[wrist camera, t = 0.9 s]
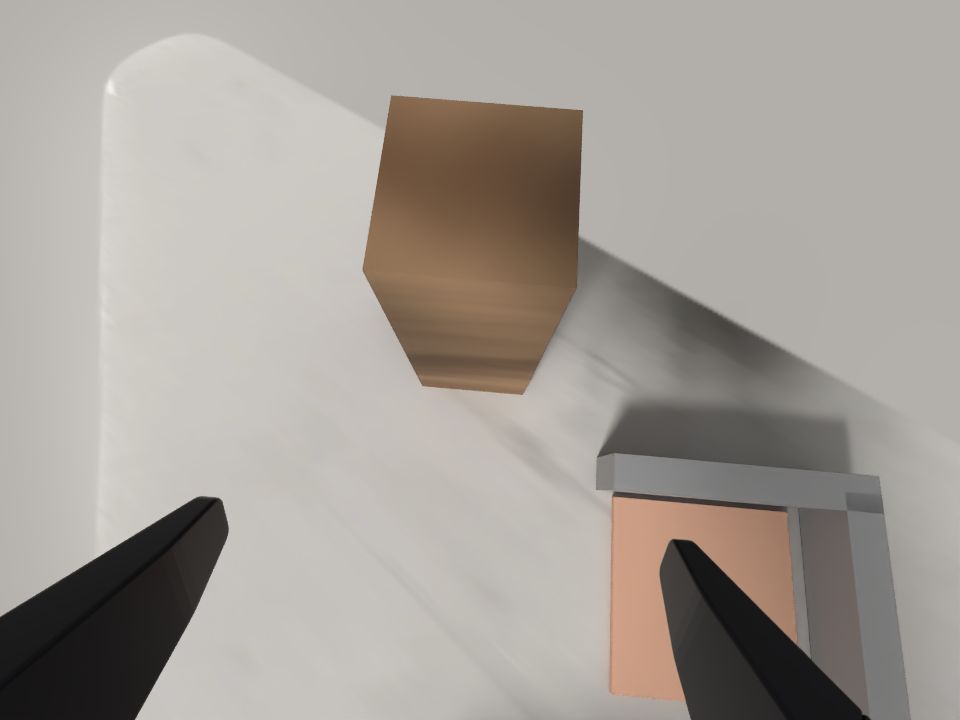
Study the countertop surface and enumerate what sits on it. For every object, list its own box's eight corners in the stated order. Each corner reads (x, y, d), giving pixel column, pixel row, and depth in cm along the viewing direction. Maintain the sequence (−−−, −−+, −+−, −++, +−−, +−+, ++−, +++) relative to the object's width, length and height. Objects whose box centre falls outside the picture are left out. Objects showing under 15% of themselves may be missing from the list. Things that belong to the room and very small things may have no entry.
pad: (798, 709, 20) (802, 712, 20) (609, 691, 20) (611, 694, 20) (782, 511, 22) (786, 512, 22) (611, 496, 22) (613, 497, 22)
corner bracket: (863, 829, 19) (932, 890, 16) (589, 802, 19) (610, 858, 16) (827, 478, 23) (879, 476, 20) (597, 457, 23) (614, 453, 20)
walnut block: (522, 394, 24) (576, 288, 11) (422, 386, 24) (362, 270, 11) (528, 301, 25) (582, 110, 12) (433, 293, 25) (391, 95, 12)
